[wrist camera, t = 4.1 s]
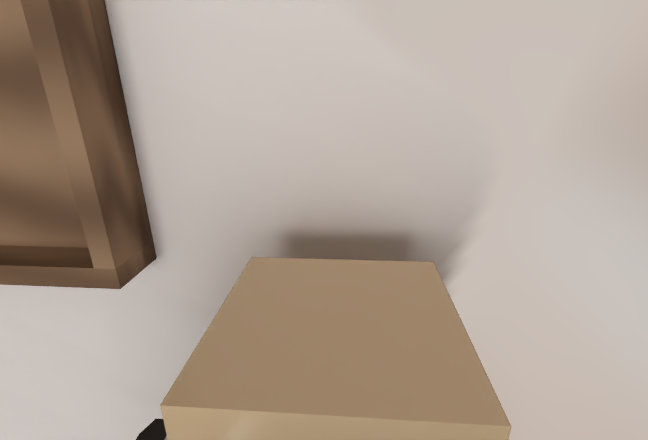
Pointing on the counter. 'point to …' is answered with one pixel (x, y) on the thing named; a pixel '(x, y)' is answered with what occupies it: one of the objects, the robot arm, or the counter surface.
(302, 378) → the tan block
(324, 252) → the counter surface
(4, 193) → the tray
